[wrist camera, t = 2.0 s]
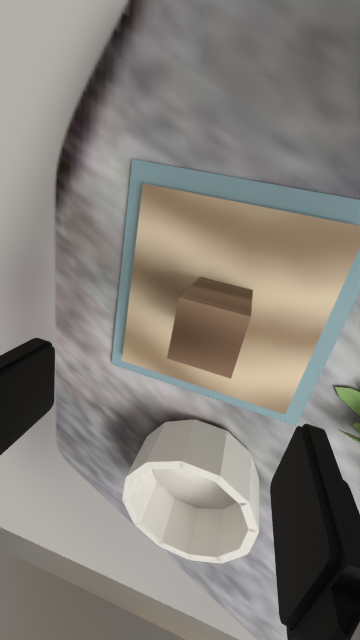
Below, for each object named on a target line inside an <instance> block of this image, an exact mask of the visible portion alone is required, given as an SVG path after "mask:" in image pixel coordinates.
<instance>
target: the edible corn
mask: <svg viewBox="0 0 360 640" xmlns="http://www.w3.org/2000/svg"><path fill="white" fill-rule="evenodd" d="M335 388H336V391H337V393H338V395H339V398H340V399H342V400H343V401H344V402H345V403H346V404H347V405H348V406H349V407H350V408H351V409H352V410H353V411H354V412H356V413H357V414H358V415H359V416H360V392H358V391H356V390H353V389H351V388H342V387H335ZM352 425H353V426H354V427H355V429H356V430H357V431H358V432H359V434H360V423H356V424H352ZM340 431H341V430H340ZM341 432H343V433H344V434H346V435H348V436H349V437H351V438H352V439H354V440H355V441H357V442H359V443H360V438H359V437H356V436H354V435H351V434H349V433H346V432H344V431H341Z"/></svg>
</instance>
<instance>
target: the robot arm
mask: <svg viewBox="0 0 360 640" xmlns="http://www.w3.org/2000/svg"><path fill="white" fill-rule="evenodd" d="M54 373H55V349H54V347H52V344H51V343H50V342H49V341H46V340H43V339H39V338H34V339H32V340H30V341H28V342H26V343H24V344H22V345H20V346H18V347H16V348H14V349H12V350H11V351H8V352H6V353H5V354H3V355H1V356H0V455H1V454H2V453H3V452H4V451H5V450H7V449H8V448H9V447H10V446H11V445H12V444H13V443H14V442H15V441H17V440H18V439H19V438H20V437H21V436H22V435H23V434H24V433H25V432H26V431H27V430H28V429H30V428H31V427H32V426H33V425H34V424H35V423H36V422H37V421H38V420H39V419H41V417H43V416H44V415H45V414H46V413H47V412H48V411H49V410H50V409H51V407H52V406H53V403H54ZM270 494H271V508H272V522H273V535H274V549H275V563H276V576H277V590H278V604H279V615H280V620H281V623H282V624H284V625H286V627H287V638H288V640H360V514H359V511H358V509H357V506H356V503H355V501H354V498H353V495H352V493H351V490H350V488H349V486H348V484H347V483H346V482H345V481H344V480H343V479H342V476H341V473H340V471H339V468H338V465H337V462H336V459H335V457H334V454H333V451H332V448H331V446H330V443H329V440H328V437H327V435H326V432H325V430H323V429H321V428H318V427H315V426H312V425H309V424H304V425H303V427H300V426H298V427H297V428H296V430H295V432H294V434H293V436H292V438H291V440H290V443H289V445H288V447H287V449H286V451H285V453H284V455H283V457H282V460H281V462H280V464H279V466H278V468H277V470H276V472H275V474H274V477H273V479H272V482H271V487H270ZM0 640H238V639H236V638H234V637H232V636H230V635H228V634H226V633H224V632H222V631H220V630H218V629H216V628H214V627H212V626H210V625H208V624H206V623H204V622H202V621H200V620H198V619H195V618H193V617H191V616H189V615H187V614H185V613H183V612H181V611H178V610H176V609H174V608H172V607H170V606H168V605H166V604H163V603H161V602H159V601H157V600H155V599H153V598H151V597H149V596H147V595H144V594H142V593H140V592H138V591H136V590H134V589H132V588H130V587H128V586H125V585H123V584H121V583H119V582H117V581H115V580H113V579H110V578H108V577H106V576H104V575H102V574H100V573H98V572H95V571H93V570H91V569H89V568H87V567H85V566H83V565H80V564H78V563H76V562H74V561H72V560H70V559H67V558H65V557H63V556H61V555H59V554H57V553H55V552H52V551H50V550H48V549H46V548H44V547H42V546H40V545H37V544H35V543H33V542H31V541H29V540H27V539H24V538H22V537H20V536H18V535H16V534H13V533H11V532H9V531H7V530H5V529H3V528H1V527H0Z"/></svg>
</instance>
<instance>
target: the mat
mask: <svg viewBox="0 0 360 640" xmlns="http://www.w3.org/2000/svg"><path fill="white" fill-rule="evenodd" d="M143 184H149V185H154V186H159V187H164V188H169V189H174V190H179V191H184V192H189V193H195V194H200V195H205V196H210V197H215V198H220V199H225V200H230V201H235V202H240V203H246V204H251V205H256V206H261V207H266V208H271V209H276V210H281V211H286V212H292V213H297V214H302V215H307V216H312V217H317V218H322V219H327V220H332V221H337V222H343V223H348V224H353V225H358V226H360V200H358V199H352V198H347V197H341V196H336V195H330V194H325V193H319V192H313V191H308V190H302V189H297V188H291V187H286V186H280V185H274V184H269V183H263V182H258V181H252V180H247V179H241V178H235V177H230V176H224V175H219V174H213V173H208V172H202V171H196V170H191V169H185V168H180V167H174V166H169V165H163V164H157V163H152V162H146V161H141V160H135V159H132V166H131V176H130V186H129V195H128V205H127V215H126V225H125V235H124V245H123V254H122V264H121V274H120V284H119V294H118V304H117V313H116V323H115V333H114V343H113V353H112V363H111V364H113V365H116V366H119V367H122V368H124V369H127V370H130V371H133V372H136V373H139V374H142V375H145V376H148V377H151V378H154V379H157V380H160V381H163V382H166V383H169V384H172V385H175V386H178V387H181V388H184V389H187V390H190V391H193V392H196V393H199V394H202V395H205V396H208V397H211V398H214V399H217V400H220V401H223V402H226V403H229V404H232V405H235V406H238V407H241V408H244V409H247V410H250V411H253V412H256V413H259V414H262V415H265V416H268V417H271V418H274V419H277V420H280V421H283V422H286V423H289V424H292V425H295V426H296V424H297V422H298V420H299V418H300V416H301V414H302V412H303V409H304V407H305V405H306V403H307V401H308V399H309V397H310V395H311V393H312V391H313V389H314V386H315V384H316V382H317V380H318V378H319V376H320V374H321V372H322V370H323V368H324V365H325V363H326V361H327V359H328V357H329V355H330V353H331V351H332V349H333V347H334V345H335V342H336V340H337V338H338V336H339V334H340V332H341V330H342V328H343V326H344V324H345V322H346V319H347V317H348V315H349V313H350V311H351V309H352V307H353V305H354V303H355V301H356V299H357V296H358V294H359V292H360V248H359V251H358V253H357V255H356V257H355V260H354V262H353V264H352V266H351V269H350V271H349V273H348V275H347V278H346V280H345V282H344V284H343V286H342V289H341V291H340V293H339V295H338V298H337V300H336V302H335V304H334V307H333V309H332V311H331V313H330V316H329V318H328V320H327V322H326V324H325V327H324V329H323V331H322V333H321V336H320V338H319V340H318V342H317V345H316V347H315V349H314V351H313V354H312V356H311V358H310V360H309V362H308V365H307V367H306V369H305V371H304V374H303V376H302V378H301V380H300V383H299V385H298V387H297V389H296V392H295V394H294V396H293V398H292V400H291V403H290V405H289V407H288V409H287V412H286V414H282V413H279V412H276V411H273V410H270V409H267V408H264V407H261V406H258V405H255V404H251V403H248V402H245V401H242V400H239V399H236V398H233V397H230V396H227V395H224V394H221V393H218V392H215V391H212V390H209V389H206V388H203V387H200V386H197V385H194V384H191V383H188V382H185V381H182V380H179V379H176V378H173V377H170V376H167V375H164V374H161V373H158V372H155V371H152V370H148V369H145V368H142V367H139V366H136V365H133V364H130V363H127V362H124V361H122V355H123V347H124V338H125V330H126V321H127V313H128V305H129V296H130V288H131V280H132V271H133V263H134V254H135V246H136V238H137V229H138V221H139V213H140V204H141V196H142V188H143Z"/></svg>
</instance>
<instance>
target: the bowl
mask: <svg viewBox="0 0 360 640" xmlns="http://www.w3.org/2000/svg"><path fill="white" fill-rule="evenodd" d="M122 500H123V502H124V504H125V506H126V508H127V510H128V512H129V514H130V516H131V519H132V521H133V523H134V524H135V525H136V526H137V527H138V528H139V529H140V530H141V531H142V532H143V533H145V534H146V535H147V536H148V537H149V538H150V539H151V540H152V541H154V542H155V543H156V544H157V545H158V546H160V547H162V548H164V549H166V550H169V551H171V552H173V553H175V554H177V555H180V556H182V557H184V558H186V559H188V560H194V561H204V562H213V563H225V562H227V561H230V560H233V559H236V558H238V557H241V556H244V555H247V554H248V553H249V551H250V549H251V547H252V545H253V543H254V541H255V539H256V537H257V535H258V533H259V478H258V474H257V471H256V468H255V465H254V461H253V458H252V455H251V453H250V452H249V451H248V450H247V449H246V448H245V447H244V446H243V445H242V444H241V443H240V442H238V441H237V440H236V439H235V438H234V437H233V436H232V435H231V434H230V433H229V432H228V431H226V430H224V429H221V428H218V427H216V426H213V425H211V424H207V423H204V422H201V421H198V420H195V419H192V420H181V421H170V422H165V423H163V424H162V425H161V426H160V427H158V428H157V429H156V430H154V431H153V432H152V433H151V434H149V435H148V436H147V437H146V439H145V441H144V443H143V445H142V447H141V449H140V451H139V453H138V455H137V457H136V459H135V461H134V463H133V464H132V466H131V468H130V470H129V472H128V474H127V476H126V480H125V486H124V493H123V499H122Z"/></svg>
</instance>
